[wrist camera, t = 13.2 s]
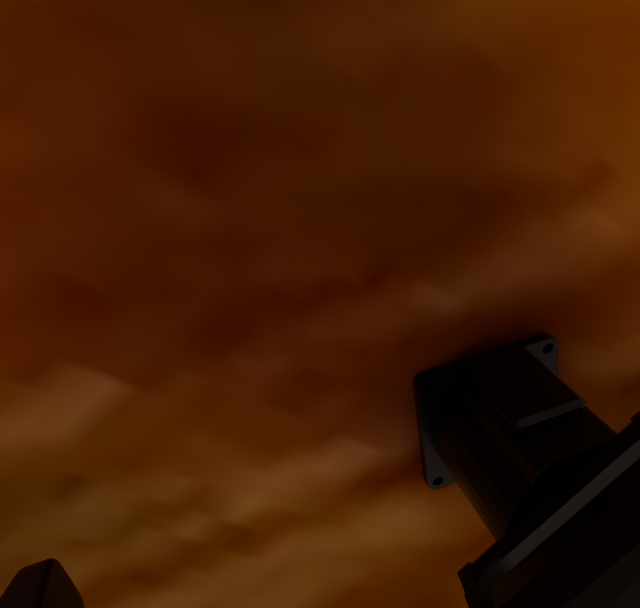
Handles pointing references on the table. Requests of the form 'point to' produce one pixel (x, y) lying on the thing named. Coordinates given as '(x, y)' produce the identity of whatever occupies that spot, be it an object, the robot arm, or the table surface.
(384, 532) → the table surface
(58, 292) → the table surface
